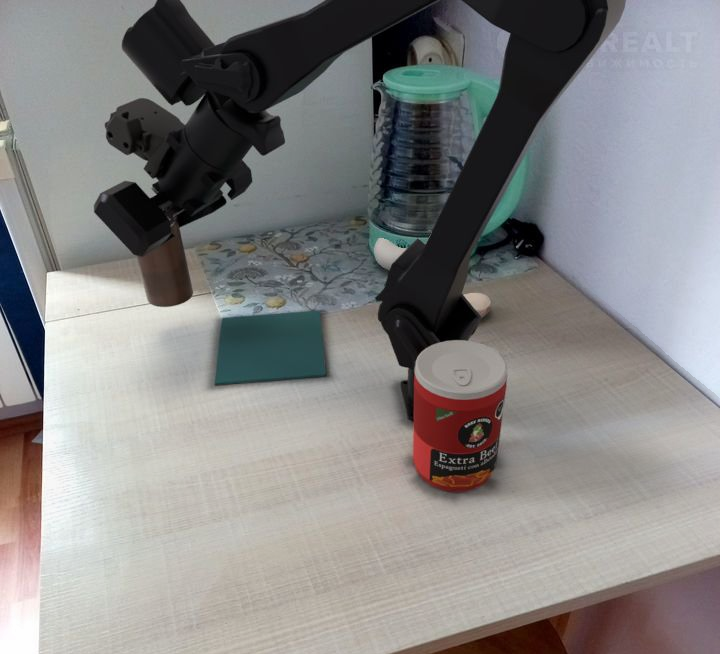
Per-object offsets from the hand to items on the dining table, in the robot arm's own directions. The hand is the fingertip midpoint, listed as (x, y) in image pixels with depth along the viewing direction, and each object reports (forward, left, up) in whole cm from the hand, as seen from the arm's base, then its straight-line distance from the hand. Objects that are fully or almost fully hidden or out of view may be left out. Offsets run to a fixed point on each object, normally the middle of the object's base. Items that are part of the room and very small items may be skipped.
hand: (147, 239), depth 77 cm
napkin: (-5, -12, -12) cm, 18 cm away
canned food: (-28, -29, -12) cm, 42 cm away
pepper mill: (-1, -1, -7) cm, 7 cm away
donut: (+14, -31, -12) cm, 36 cm away
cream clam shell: (-1, -36, -12) cm, 38 cm away
